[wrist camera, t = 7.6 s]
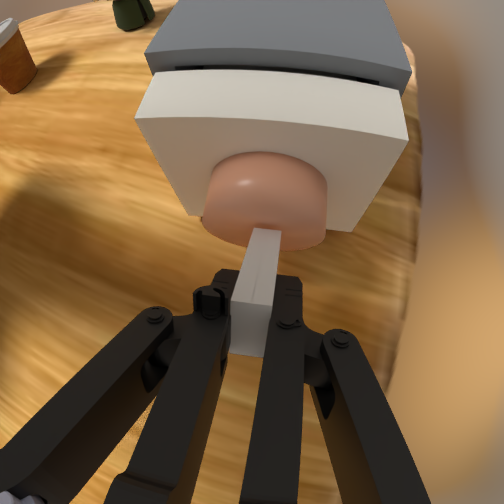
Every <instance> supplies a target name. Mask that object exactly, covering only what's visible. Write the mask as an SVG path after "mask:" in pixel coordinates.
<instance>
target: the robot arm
mask: <svg viewBox="0 0 504 504" xmlns="http://www.w3.org/2000/svg"><path fill="white" fill-rule="evenodd" d="M281 232H282V231H280V230H271V229H262V228H254V229H253V232H252V235H251V238H250V241H249V244H248V248H247V251H246V254H245V257H244V260H243V263H242V266H241V269H240V271H238V270H229V269H221V270H220V271H219V272H217V273H216V274H215V276H214V278H213V282H212V283H211V285H210V286H203V287H200V288H198V289H196V290H195V291H194V292H193V306H194V312H193V313H192V314H189V315H184V316H172V313H171V312H170V310H168V309H166V308H164V307H160V306H156V307H150V308H147V309H145V310H143V311H142V312H141V313H140V314H139V315H137V316H136V317H135V318H134V319H133V320H132V321H131V322H130V323H129V324H128V325H127V326H126V327H125V328H124V329H123V330H121V331H120V332H119V333H118V334H117V335H116V336H115V337H114V338H113V339H112V340H111V341H110V342H109V343H108V344H107V345H106V346H105V347H104V348H102V349H101V350H100V351H99V352H98V353H97V354H96V355H95V356H94V357H93V358H92V359H91V360H90V361H89V362H88V363H87V364H86V365H85V366H84V367H83V368H82V369H81V370H80V371H79V372H78V373H77V374H76V375H75V376H73V377H72V378H71V379H70V380H69V381H68V382H67V383H66V384H65V385H64V386H63V387H62V388H61V389H60V390H59V391H58V392H57V393H56V394H55V395H54V396H53V397H52V398H51V399H50V400H49V401H48V402H47V403H46V404H45V405H44V406H43V407H42V408H41V409H40V410H39V411H38V412H37V413H36V414H35V415H34V416H33V417H32V418H31V419H30V420H29V421H28V422H27V423H26V424H25V425H24V426H23V427H22V428H21V430H20V431H19V432H18V433H17V434H16V435H15V436H14V437H13V438H12V439H11V440H10V441H9V442H8V443H7V444H6V445H5V446H4V447H3V448H2V449H0V504H69V503H70V502H71V501H72V500H73V499H74V497H75V496H76V495H77V494H78V493H79V492H80V490H81V489H82V488H83V487H84V485H85V484H86V483H87V482H88V480H89V479H90V478H91V477H92V476H93V474H94V473H95V472H96V471H97V469H98V468H99V467H100V466H101V464H102V463H103V462H104V461H105V459H106V458H107V457H108V456H109V454H110V453H111V452H112V451H113V449H114V448H115V447H116V446H117V444H118V443H119V442H120V441H121V439H122V438H123V437H124V436H125V434H126V433H127V432H128V431H129V429H130V428H131V427H132V426H133V424H134V423H135V422H136V421H137V419H138V418H139V417H140V416H141V414H142V413H143V412H144V411H145V409H146V408H147V407H148V405H149V404H150V403H151V402H152V400H153V399H154V398H155V397H156V399H155V401H154V404H153V406H152V408H151V411H150V413H149V416H148V418H147V420H146V423H145V425H144V428H143V430H142V432H141V435H140V437H139V440H138V442H137V445H136V447H135V450H134V452H133V455H132V457H131V460H130V462H129V465H128V467H127V469H126V470H125V471H124V472H123V473H120V474H118V475H117V476H116V477H115V478H114V480H113V482H112V484H111V486H110V488H109V491H108V493H107V496H106V498H105V501H104V503H103V504H190V503H191V500H192V496H193V492H194V488H195V484H196V481H197V477H198V473H199V469H200V465H201V462H202V458H203V454H204V450H205V446H206V443H207V439H208V435H209V431H210V427H211V424H212V420H213V416H214V412H215V408H216V405H217V401H218V397H219V393H220V389H221V385H222V382H223V378H224V374H225V370H226V366H227V354H228V351H229V353H232V354H239V355H246V356H253V357H261V358H263V365H262V371H261V378H260V384H259V391H258V397H257V403H256V409H255V415H254V421H253V427H252V433H251V439H250V445H249V451H248V456H247V462H246V468H245V473H244V479H243V484H242V490H241V495H240V500H239V504H297V496H298V483H299V470H300V454H301V437H302V416H303V388H304V383H306V384H309V385H310V391H311V394H312V397H313V401H314V404H315V408H316V411H317V414H318V418H319V421H320V425H321V428H322V432H323V435H324V439H325V442H326V446H327V449H328V452H329V456H330V459H331V463H332V466H333V470H334V474H335V477H336V481H337V484H338V488H339V491H340V495H341V499H342V502H343V504H431V502H430V499H429V497H428V494H427V492H426V489H425V487H424V484H423V482H422V480H421V477H420V475H419V472H418V470H417V467H416V465H415V463H414V460H413V458H412V456H411V453H410V451H409V449H408V446H407V444H406V442H405V439H404V438H403V435H402V433H401V431H400V428H399V426H398V424H397V422H396V419H395V417H394V415H393V413H392V411H391V408H390V406H389V405H388V402H387V400H386V398H385V396H384V393H383V391H382V389H381V387H380V385H379V383H378V381H377V379H376V377H375V375H374V372H373V370H372V368H371V366H370V364H369V362H368V360H367V358H366V356H365V354H364V352H363V350H362V348H361V346H360V344H359V342H358V340H357V339H356V337H355V336H354V335H353V334H351V333H350V332H348V331H345V330H342V329H333V330H329V331H328V332H326V333H325V334H324V335H323V334H320V333H317V332H314V331H312V330H311V329H309V328H308V327H307V326H306V325H305V324H304V321H303V318H302V282H301V281H300V279H299V278H298V277H295V276H286V275H278V274H277V267H278V259H279V250H280V241H281ZM229 347H230V349H229ZM156 395H157V396H156Z"/></svg>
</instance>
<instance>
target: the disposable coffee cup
mask: <svg viewBox="0 0 504 504" xmlns="http://www.w3.org/2000/svg"><path fill="white" fill-rule="evenodd" d="M18 27H19V26H18V21H15V20H14V19H12V18H9V19H7V20H5V21H3V22H2V23H0V85H1V86H2V87H3V88H4V89H6V90H7V91H8V92H9V93H10V94H15V93H17V92H19V91H20V90H21V89H23V88H24V87H25V86H26V85H27V84H28V83H29V82H30V81H31V80H32V79H33V78H34V76H35V75H36V72H37V68H36V66H35V64H34V62H33V60H32V58H31V55H30V53H29V51H28V49H27V47H26V44H25V42H24V40H23V38H22V35H21V33H20V31H19V28H18Z"/></svg>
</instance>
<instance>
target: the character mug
mask: <svg viewBox="0 0 504 504" xmlns="http://www.w3.org/2000/svg"><path fill="white" fill-rule="evenodd" d="M93 1H94V2H96V1H98V0H93ZM107 1H111V0H107ZM112 6H113V11H114V16H115V20H116V24H117V27H118V28H120V29H124V30H129V29H134V28H137V27H139V26H142V25H144V24H145V22H144V19H145V18H146V17H147V16H148V18H149V20H151V19H152V18H153V17H154V16H155V12H154V10H153V7H152V5H151V3H150V1H149V0H113V5H112Z"/></svg>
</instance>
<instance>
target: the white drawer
mask: <svg viewBox="0 0 504 504" xmlns="http://www.w3.org/2000/svg"><path fill="white" fill-rule="evenodd" d="M134 119H135V121H136V123H137V125H138V126H139V128H140V130H141V132H142V134H143V136H144V138H145V139H146V141H147V143H148V145H149V147H150V148H151V150H152V152H153V154H154V156H155V157H156V159H157V161H158V163H159V165H160V166H161V168H162V170H163V172H164V174H165V175H166V177H167V179H168V181H169V182H170V184H171V186H172V188H173V189H174V191H175V193H176V195H177V196H178V198H179V200H180V202H181V203H182V205H183V207H184V209H185V210H186V212H187V214H188V215H191V216H203V217H202V224H203V226H204V227H205V229H206V230H207V231H208V232H210V233H211V234H212V235H214V236H216V237H218V238H220V239H222V240H224V241H227V242H230V243H233V244H236V245H240V246H244V247H248V244H249V241H250V238H251V235H252V232H253V229H254V228H262V229H271V230H280V231H282V232H281V241H280V250H279V251H294V250H302V249H307V248H310V247H313V246H316V245H318V244H320V243H321V242H322V241H323V240H324V239H325V236H326V229H328V230H337V231H345V232H352V231H353V229H354V228H355V226H356V225H357V223H358V222H359V220H360V219H361V217H362V215H363V214H364V212H365V211H366V209H367V208H368V206H369V205H370V203H371V202H372V200H373V199H374V197H375V195H376V194H377V192H378V191H379V189H380V188H381V186H382V184H383V183H384V181H385V180H386V178H387V176H388V175H389V173H390V171H391V170H392V168H393V167H394V165H395V163H396V162H397V160H398V158H399V157H400V155H401V153H402V152H403V150H404V148H405V147H406V145H407V143H408V142H409V139H408V133H407V128H406V122H405V117H404V112H403V108H402V103H401V99H400V94H399V90H395V89H391V88H386V87H382V86H377V85H372V84H367V83H361V82H357V78H356V76H350V75H344V74H337V73H331V72H323V71H316V70H307V69H297V68H286V67H273V66H254V65H204V67H203V70H184V71H167V72H155V74H154V76H153V78H152V80H151V83H150V85H149V87H148V89H147V91H146V93H145V95H144V97H143V100H142V102H141V104H140V106H139V109H138V111H137V113H136V115H135V118H134Z"/></svg>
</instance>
